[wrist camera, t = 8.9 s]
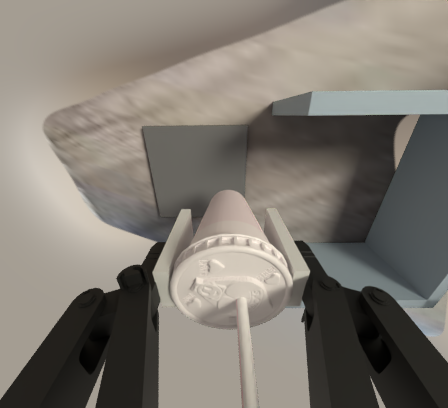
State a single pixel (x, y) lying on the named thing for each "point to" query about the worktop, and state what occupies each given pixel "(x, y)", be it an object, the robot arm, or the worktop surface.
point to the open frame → (395, 199)
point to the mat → (195, 164)
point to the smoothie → (232, 279)
